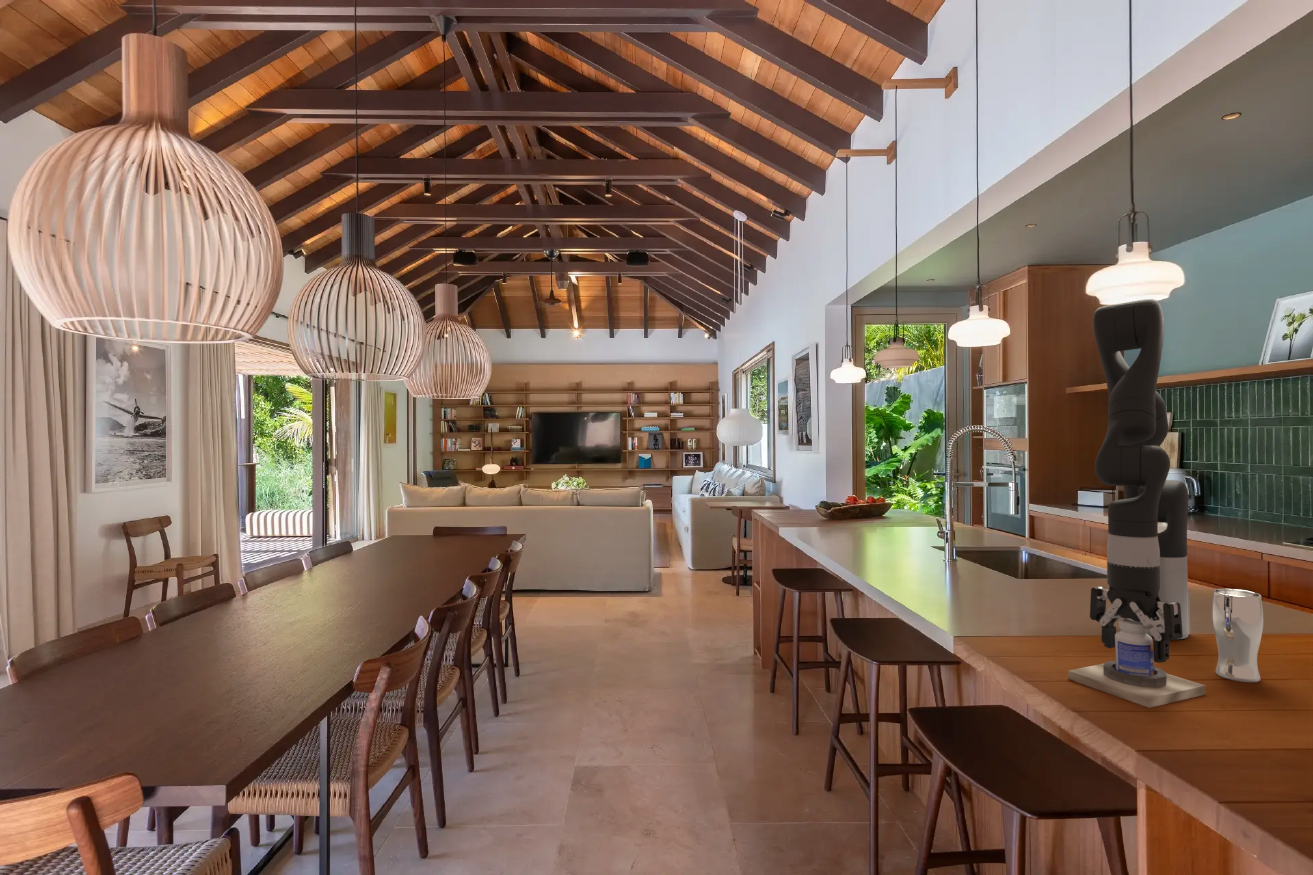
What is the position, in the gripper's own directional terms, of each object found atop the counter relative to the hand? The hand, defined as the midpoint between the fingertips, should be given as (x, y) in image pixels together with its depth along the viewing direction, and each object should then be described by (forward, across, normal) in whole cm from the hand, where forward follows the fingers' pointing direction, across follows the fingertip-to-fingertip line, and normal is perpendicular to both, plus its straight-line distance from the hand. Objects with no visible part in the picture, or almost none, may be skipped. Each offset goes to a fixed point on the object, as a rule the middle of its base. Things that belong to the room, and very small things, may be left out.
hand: (1134, 654), depth 118 cm
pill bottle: (+4, 0, 0) cm, 4 cm away
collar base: (+6, 0, 0) cm, 6 cm away
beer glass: (+6, -4, -21) cm, 22 cm away
